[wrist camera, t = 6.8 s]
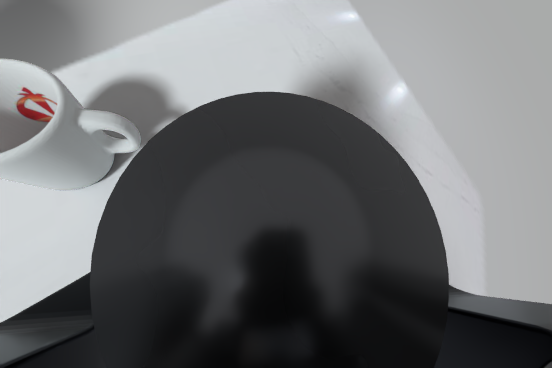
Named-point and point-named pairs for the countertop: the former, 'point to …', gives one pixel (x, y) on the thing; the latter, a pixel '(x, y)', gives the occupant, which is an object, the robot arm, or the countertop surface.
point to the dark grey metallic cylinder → (269, 245)
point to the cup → (54, 132)
